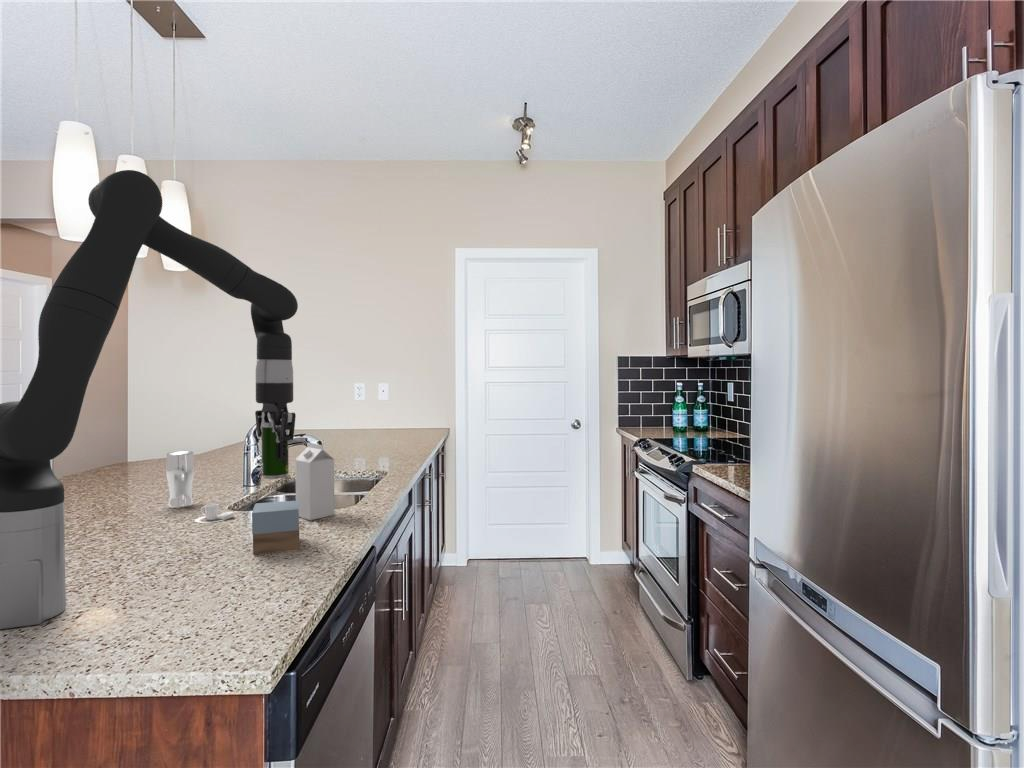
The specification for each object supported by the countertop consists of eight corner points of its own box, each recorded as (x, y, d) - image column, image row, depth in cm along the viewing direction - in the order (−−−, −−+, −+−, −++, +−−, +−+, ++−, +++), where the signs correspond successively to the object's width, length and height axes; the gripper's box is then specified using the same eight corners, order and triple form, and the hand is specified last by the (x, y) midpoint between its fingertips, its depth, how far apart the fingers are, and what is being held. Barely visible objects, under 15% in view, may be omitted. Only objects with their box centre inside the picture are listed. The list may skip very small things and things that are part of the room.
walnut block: (299, 550, 120) (299, 529, 119) (253, 555, 116) (252, 534, 116) (298, 539, 128) (298, 519, 128) (255, 543, 125) (255, 523, 124)
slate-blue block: (298, 530, 119) (298, 509, 119) (252, 534, 116) (252, 512, 116) (298, 519, 128) (298, 500, 127) (255, 523, 124) (255, 503, 124)
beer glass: (170, 503, 161) (169, 451, 161) (197, 502, 163) (196, 450, 163) (163, 509, 154) (162, 455, 154) (191, 507, 156) (190, 454, 156)
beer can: (264, 480, 118) (263, 423, 118) (259, 476, 122) (259, 421, 122) (291, 477, 121) (290, 422, 121) (285, 473, 125) (285, 420, 125)
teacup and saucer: (239, 518, 147) (238, 502, 147) (215, 526, 139) (215, 509, 139) (211, 515, 149) (211, 500, 149) (187, 523, 142) (186, 507, 141)
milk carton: (319, 511, 153) (319, 441, 152) (334, 515, 148) (334, 444, 148) (295, 516, 147) (295, 444, 147) (310, 521, 143) (309, 446, 142)
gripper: (307, 381, 119) (308, 460, 120) (275, 380, 129) (276, 453, 129) (273, 381, 114) (273, 464, 114) (242, 380, 123) (243, 457, 123)
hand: (275, 458), depth 121 cm, fingers closed on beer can, 5 cm apart
